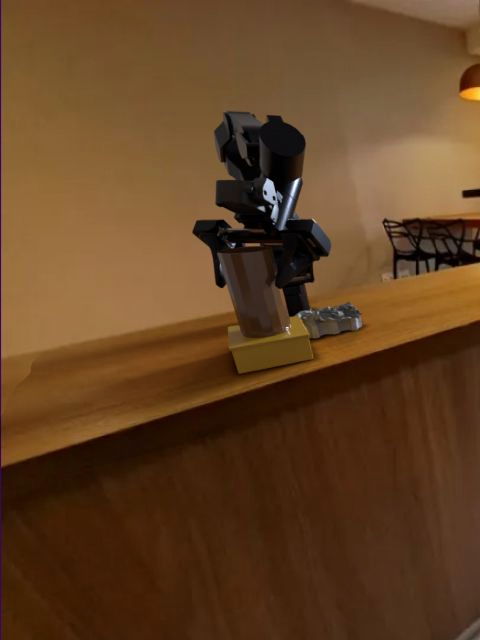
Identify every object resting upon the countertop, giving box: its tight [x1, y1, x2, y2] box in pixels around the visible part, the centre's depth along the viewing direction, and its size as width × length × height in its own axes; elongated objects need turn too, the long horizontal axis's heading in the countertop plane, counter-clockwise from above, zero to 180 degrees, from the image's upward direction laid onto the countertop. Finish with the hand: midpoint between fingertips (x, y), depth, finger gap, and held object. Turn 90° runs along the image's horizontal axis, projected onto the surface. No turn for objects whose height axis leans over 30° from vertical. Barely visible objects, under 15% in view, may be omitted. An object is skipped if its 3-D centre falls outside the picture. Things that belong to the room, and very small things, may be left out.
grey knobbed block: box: [295, 301, 363, 339], centre depth 79 cm, size 11×8×4 cm
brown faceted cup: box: [217, 245, 291, 338], centre depth 64 cm, size 7×7×12 cm
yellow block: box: [227, 316, 314, 375], centre depth 68 cm, size 11×10×4 cm
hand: (248, 287), depth 63 cm, fingers open, 9 cm apart
